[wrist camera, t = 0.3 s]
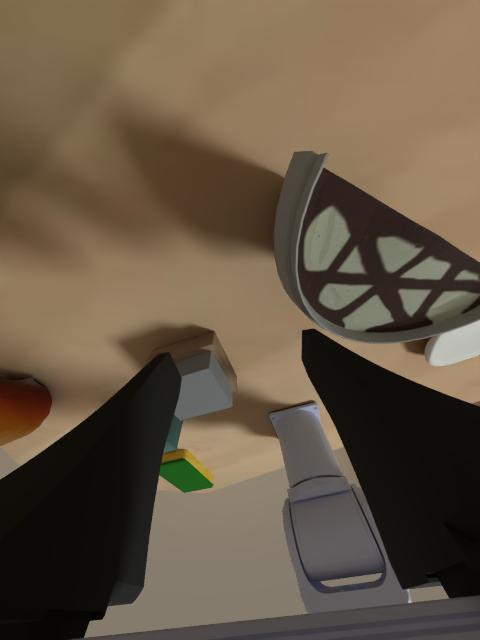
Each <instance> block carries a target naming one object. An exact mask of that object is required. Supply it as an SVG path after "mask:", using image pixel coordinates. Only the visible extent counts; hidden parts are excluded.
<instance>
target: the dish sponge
mask: <svg viewBox="0 0 480 640" xmlns="http://www.w3.org/2000/svg"><path fill="white" fill-rule="evenodd" d="M159 475H160V476H161V477H163V478H164V479H166V480H167V481H168V482H170V483H171V484H173V485H174V486H175V487H177V488H178V489H180V490H181V491H182V492H184V493H185V492H191V491H196V490H201V489H206V488H211V487H213V484H212V483H213V477H214V475H213V474H212V473H211V472H210V471H209V470H208V469H207V468H206V467H205V466H204V465H203V464H201V463H200V462H199V461H198V460H197V459H196V458H195V457H194V456H193V455H192V454H191V453H190V452H189V451H188V450H187V449H183V450H179V451H174V452H170V453H166V454H163V457H162V463H161V468H160V473H159Z"/></svg>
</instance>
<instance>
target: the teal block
mask: <svg viewBox="0 0 480 640" xmlns="http://www.w3.org/2000/svg"><path fill="white" fill-rule="evenodd" d="M182 423H183V420H182V421H180V420H179V419H178V418H177V417H176V416H175V414H174V416H173V420H172V423H171V427H170V430H169V433H168V437H167V440H166V444H165V448H164V452H163V453H165V452H169V451H173V450H177V445H178V441H179V437H180V432H181V428H182Z"/></svg>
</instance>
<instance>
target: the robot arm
mask: <svg viewBox="0 0 480 640" xmlns="http://www.w3.org/2000/svg"><path fill="white" fill-rule="evenodd" d="M302 362H303V364H304V367H305V369H306V372H307V374H308V377H309V378H310V380H311V382H312V384H313V386H314V388H315V390H316V391H317V393H318V395H319V397H320V399H321V400H322V402H323V404H324V406H325V408H326V410H327V411H328V413H329V415H330V417H331V419H332V421H333V423H334V425H335V427H336V429H337V431H338V434H339V436H340V438H341V440H342V443H343V445H344V447H345V449H346V452H347V454H348V456H349V459H350V461H351V463H352V466H353V468H354V471H355V473H356V475H357V478H358V481H359V483H360V486H361V488H362V489H361V488H359V487H357V485H356V484H351V485H349V483H348V481H347V478H346V477H345V476H344V475H343V473H342V471H341V469H340V466H339V464H338V462H337V460H336V457H335V455H334V453H333V451H332V448H331V446H330V444H329V442H328V439H327V437H326V435H325V433H324V430H323V428H322V426H321V420H320V414H319V408H318V404H317V403H316V402H314V403H310V404H306V405H302V406H298V407H294V408H290V409H286V410H282V411H277V412H273V413H270V414H269V417H270V420H271V422H272V424H273V427H274V429H275V431H276V434H277V436H278V438H279V441H280V446H281V450H282V455H283V459H284V464H285V468H286V472H287V477H288V481H289V486H290V489H288V490H287V491H288V496H289V498H287V499H286V500H285V502H284V506H283V524H284V530H285V536H286V541H287V545H288V550H289V554H290V557H291V561H292V564H293V567H294V570H295V573H296V577H297V581H298V585H299V590H300V594H301V598H302V601H303V603H304V605H305V609H306V611H307V612H308V614H302V615H293V616H283V617H274V618H266V619H256V620H247V621H238V622H228V623H219V624H209V625H200V626H191V627H182V628H173V629H163V630H154V631H146V632H135V633H126V634H117V635H108V636H99V637H89V638H84V636H85V633H86V630H87V627H88V624H89V621H93V620H102V619H103V617H104V616H105V613H106V610H107V607H108V606H114V605H123V604H131V603H133V602H134V601H135V600H136V598H137V597H138V595H139V594H140V592H141V591H142V589H143V587H144V579H145V569H146V561H147V552H148V544H149V535H150V529H151V522H152V515H153V508H154V502H155V495H156V490H157V484H158V478H159V473H160V468H161V463H162V457H163V452H164V448H165V444H166V440H167V437H168V433H169V430H170V427H171V423H172V420H173V416H174V413H175V409H176V406H177V402H178V399H179V394H180V388H181V381H182V377H181V375H180V373H179V371H178V369H177V367H176V365H175V363H174V360H173V358H172V356H171V354H170V352H167V353H161V354H158V355H157V356H156V357H154V358H153V359H152V360H151V361H150V362H149V363H148V364H147V365H146V366H145V367H144V368H143V369H142V370H141V371H140V372H139V373H137V374H136V375H135V376H134V377H133V378H132V379H131V380H130V381H129V382H128V383H127V384H126V385H125V386H124V387H123V388H121V389H120V390H119V391H118V392H117V393H116V394H115V395H114V396H113V397H111V398H110V399H109V400H108V401H107V402H106V403H105V404H104V405H102V406H101V407H100V408H99V409H98V410H96V411H95V412H94V413H93V414H92V415H90V416H89V417H88V418H87V419H85V420H84V421H83V422H81V423H80V424H79V425H78V426H76V427H75V428H74V429H72V430H71V431H70V432H68V433H67V434H66V435H64V436H63V437H62V438H60V439H59V440H57V441H56V442H55V443H53V444H52V445H50V446H49V447H48V448H46V449H45V450H44V451H42V452H41V453H39V454H38V455H37V456H35V457H34V458H32V459H31V460H29V461H28V462H26V463H25V464H23V465H22V466H20V467H19V468H17V469H16V470H14V471H13V472H11V473H10V474H8V475H7V476H5V477H4V478H2V479H1V480H0V640H480V407H479V406H476V405H473V404H471V403H468V402H465V401H462V400H460V399H457V398H454V397H451V396H449V395H446V394H443V393H441V392H438V391H436V390H433V389H431V388H428V387H426V386H423V385H421V384H418V383H416V382H413V381H411V380H409V379H406V378H404V377H402V376H400V375H398V374H395V373H393V372H391V371H389V370H387V369H385V368H382V367H380V366H378V365H376V364H374V363H373V362H371V361H369V360H367V359H365V358H363V357H361V356H359V355H357V354H356V353H354V352H352V351H350V350H349V349H347V348H345V347H343V346H342V345H340V344H338V343H337V342H335V341H334V340H332V339H330V338H329V337H327V336H325V335H324V334H322V333H321V332H319V331H317V330H315V329H308V330H302ZM350 486H351V487H350ZM351 488H352V489H351ZM352 491H353V492H352ZM376 573H382V575H381V577H380V578H379V579H378V580H376V581H374V582H366V583H359V584H350V585H343V586H335V587H329V586H325V585H323V584H322V583H321V582H320V581H326V580H333V579H340V578H348V577H355V576H362V575H369V574H376ZM432 586H443V588H444V590H445V591H446V593H447V595H448V596H449V598H450V599H441V600H431V601H422V602H413V603H412V601H411V598H410V595H409V589H415V588H423V587H432Z"/></svg>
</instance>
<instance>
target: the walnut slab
mask: <svg viewBox="0 0 480 640" xmlns="http://www.w3.org/2000/svg"><path fill="white" fill-rule="evenodd" d="M209 351H212V353H213V355H214V357H215V358H216V360H217V362H218V364H219V366H220V367H221V369H222V371H223V373H224V374H225V376H226V378H227V380H228V382H229V383H230V385H231V387H232V393H233V392H236V391H237V376H236V374H235V372H234V370H233V368H232V366H231V364H230V361H229V359H228V357H227V355H226V353H225V351H224V349H223V347H222V345H221V343H220V341H219V339H218V337H217V335H216V333H215V331H212V332H209V333H206V334H203V335H199V336H196V337H193V338H190V339H187V340H184V341H180V342H177V343H174V344H171V345H168V346H165V347H161V348H158V349H155V350H153V351H152V353H151V355H150V356H149V358H148V360H147V362H146V363H145V366H146V365H147V364H148V363H149V362H150V361H151V360H152V359H153V358H154V357H156V356H157V355H158V354H161V353H167V352H170V354H171V356H172V358H173V360H174V362H177V361H180V360H183V359H187V358H190V357H193V356H196V355H200V354H203V353H206V352H209Z"/></svg>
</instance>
